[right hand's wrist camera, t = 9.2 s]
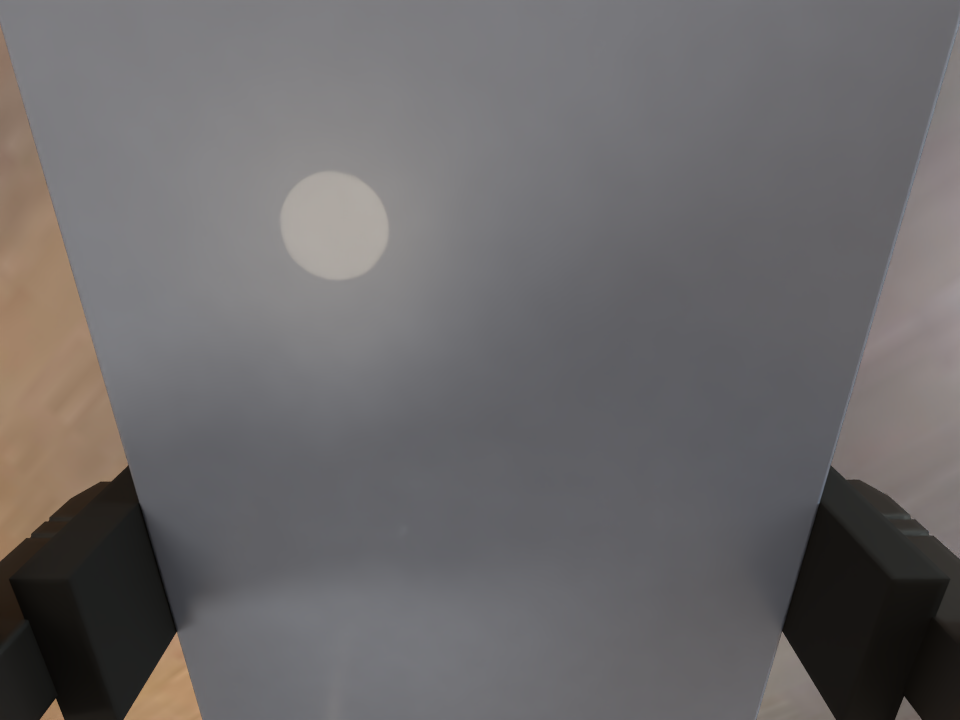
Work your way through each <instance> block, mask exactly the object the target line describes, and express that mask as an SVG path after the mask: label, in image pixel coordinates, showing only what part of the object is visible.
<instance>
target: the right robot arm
mask: <svg viewBox="0 0 960 720" xmlns="http://www.w3.org/2000/svg"><path fill="white" fill-rule="evenodd" d="M782 631H783V633H784V635H785V636H786V638H787V640H788V641H789V643H790V645H791V646H792V648H793V650H794V651H795V653H796V654H797V656H798V658H799V659H800V661H801V663H802V664H803V666H804V668H805V669H806V671H807V673H808V674H809V676H810V678H811V679H812V681H813V682H814V684H815V686H816V687H817V689H818V691H819V692H820V694H821V696H822V697H823V699H824V701H825V702H826V704H827V706H828V707H829V709H830V711H831V712H832V714H833V715H834V717H835V719H836V720H895V718H896V715H897V713H898V710H899V708H900V705H901V703H902V700H903V698H904V696H905V697H906V699H907V700H908V701H909V703H910V704H911V705H912V707H913V708H914V709H915V711H916V712H917V713H918V715H919V716H920V717H921V719H922V720H960V559H959V558H958V557H957V556H955V555H954V554H953V553H952V552H951V551H950V550H949V549H948V548H946V547H945V546H944V545H943V544H942V543H941V542H940V541H939V540H937V539H936V538H935V537H934V536H929V532H928V531H927V530H926V529H925V528H924V527H923V526H922V525H921V524H919V523H918V522H917V521H916V520H915V519H911V518H910V515H909V514H908V513H907V512H906V511H905V510H904V509H903V508H901V507H900V506H899V505H898V504H897V503H896V502H895V501H894V500H892V499H891V498H890V497H889V496H887V495H886V494H884V493H882V492H880V491H878V490H877V489H875V488H873V487H871V486H869V485H868V484H866V483H864V482H862V481H860V480H846V479H845V478H844V477H843V476H841V475H840V474H839V473H838V472H837V471H836V470H835V469H834V468H833V467H832V466H831V465H830V469H829V472H828V476H827V479H826V482H825V486H824V489H823V493H822V496H821V500H820V503H819V506H818V510H817V513H816V517H815V520H814V524H813V527H812V530H811V534H810V537H809V541H808V544H807V548H806V551H805V554H804V558H803V561H802V565H801V568H800V571H799V575H798V578H797V582H796V585H795V589H794V592H793V595H792V599H791V602H790V606H789V609H788V613H787V616H786V619H785V623H784V626H783V630H782ZM176 632H177V630H176V627H175V623H174V620H173V616H172V613H171V609H170V606H169V603H168V599H167V596H166V592H165V589H164V585H163V582H162V578H161V575H160V572H159V568H158V565H157V561H156V558H155V554H154V551H153V547H152V544H151V541H150V537H149V534H148V530H147V527H146V523H145V520H144V516H143V513H142V510H141V506H140V503H139V499H138V496H137V492H136V489H135V485H134V482H133V479H132V475H131V472H130V468H129V465H128V466H127V467H126V468H125V469H124V470H123V471H122V472H121V473H120V474H119V475H118V476H117V477H116V478H115V479H114V480H113V481H112V482H99V483H98V484H96V485H94V486H92V487H90V488H89V489H87V490H85V491H83V492H81V493H80V494H78V495H76V496H74V497H73V498H71V499H70V500H69V501H68V502H66V503H65V504H64V505H63V506H62V507H61V508H60V509H59V510H57V511H56V512H55V513H54V514H53V515H52V516H51V517H50V518H49V522H44V523H43V524H42V525H41V526H40V527H38V528H37V529H36V530H35V531H34V532H33V533H32V534H31V538H26V539H25V540H24V541H23V542H22V543H21V544H19V545H18V546H17V547H16V548H15V549H14V550H13V551H12V552H10V553H9V554H8V555H7V556H6V557H5V558H4V559H3V560H2V561H0V720H40V718H41V717H42V716H43V714H44V713H45V712H46V710H47V709H48V708H49V706H50V705H51V704H52V702H53V701H54V700H55V698H56V700H57V702H58V705H59V707H60V710H61V712H62V715H63V717H64V720H123V719H124V718H125V716H126V714H127V713H128V711H129V710H130V708H131V706H132V705H133V703H134V701H135V700H136V698H137V696H138V695H139V693H140V691H141V690H142V688H143V686H144V685H145V683H146V682H147V680H148V678H149V677H150V675H151V673H152V672H153V670H154V668H155V667H156V665H157V663H158V662H159V660H160V658H161V657H162V655H163V654H164V652H165V650H166V649H167V647H168V645H169V644H170V642H171V640H172V639H173V637H174V635H175V634H176Z"/></svg>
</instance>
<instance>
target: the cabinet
mask: <svg viewBox="0 0 960 720" xmlns="http://www.w3.org/2000/svg"><path fill="white" fill-rule="evenodd" d="M0 24H1V28H2V31H3V35H4V38H5V41H6V45H7V48H8V52H9V55H10V59H11V62H12V66H13V69H14V72H15V76H16V79H17V83H18V86H19V90H20V93H21V97H22V100H23V103H24V107H25V110H26V114H27V117H28V121H29V124H30V128H31V131H32V134H33V138H34V141H35V145H36V148H37V152H38V155H39V159H40V162H41V165H42V169H43V172H44V176H45V179H46V183H47V186H48V189H49V193H50V196H51V200H52V203H53V207H54V210H55V214H56V217H57V220H58V224H59V227H60V231H61V234H62V238H63V241H64V245H65V248H66V251H67V255H68V258H69V262H70V265H71V269H72V272H73V276H74V279H75V282H76V286H77V289H78V293H79V296H80V300H81V303H82V307H83V310H84V313H85V317H86V320H87V324H88V327H89V331H90V334H91V337H92V341H93V344H94V348H95V351H96V355H97V358H98V362H99V365H100V368H101V372H102V375H103V379H104V382H105V386H106V389H107V393H108V396H109V399H110V403H111V406H112V410H113V413H114V417H115V420H116V424H117V427H118V430H119V434H120V437H121V441H122V444H123V448H124V451H125V455H126V458H127V461H128V465H129V468H130V472H131V475H132V479H133V482H134V485H135V489H136V492H137V496H138V499H139V503H140V506H141V510H142V513H143V516H144V520H145V523H146V527H147V530H148V534H149V537H150V541H151V544H152V547H153V551H154V554H155V558H156V561H157V565H158V568H159V572H160V575H161V578H162V582H163V585H164V589H165V592H166V596H167V599H168V603H169V606H170V609H171V613H172V616H173V620H174V623H175V627H176V630H177V634H178V637H179V640H180V644H181V647H182V651H183V654H184V658H185V661H186V664H187V668H188V671H189V675H190V678H191V682H192V685H193V689H194V692H195V695H196V699H197V702H198V706H199V709H200V713H201V716H202V720H756V719H757V715H758V712H759V708H760V705H761V702H762V698H763V695H764V691H765V688H766V684H767V681H768V678H769V674H770V671H771V667H772V664H773V660H774V657H775V654H776V650H777V647H778V643H779V640H780V637H781V633H782V630H783V626H784V623H785V619H786V616H787V613H788V609H789V606H790V602H791V599H792V595H793V592H794V589H795V585H796V582H797V578H798V575H799V571H800V568H801V565H802V561H803V558H804V554H805V551H806V548H807V544H808V541H809V537H810V534H811V530H812V527H813V524H814V520H815V517H816V513H817V510H818V506H819V503H820V500H821V496H822V493H823V489H824V486H825V482H826V479H827V476H828V472H829V469H830V465H831V462H832V459H833V455H834V452H835V448H836V445H837V441H838V438H839V435H840V431H841V428H842V424H843V421H844V417H845V414H846V411H847V407H848V404H849V400H850V397H851V393H852V390H853V387H854V383H855V380H856V376H857V373H858V370H859V366H860V363H861V359H862V356H863V352H864V349H865V346H866V342H867V339H868V335H869V332H870V328H871V325H872V322H873V318H874V315H875V311H876V308H877V304H878V301H879V298H880V294H881V291H882V287H883V284H884V281H885V277H886V274H887V270H888V267H889V263H890V260H891V257H892V253H893V250H894V246H895V243H896V239H897V236H898V233H899V229H900V226H901V222H902V219H903V215H904V212H905V209H906V205H907V202H908V198H909V195H910V192H911V188H912V185H913V181H914V178H915V174H916V171H917V168H918V164H919V161H920V157H921V154H922V150H923V147H924V144H925V140H926V137H927V133H928V130H929V126H930V123H931V120H932V116H933V113H934V109H935V106H936V103H937V99H938V96H939V92H940V89H941V85H942V82H943V79H944V75H945V72H946V68H947V65H948V61H949V58H950V55H951V51H952V48H953V44H954V41H955V37H956V34H957V31H958V27H959V24H960V0H0Z"/></svg>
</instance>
